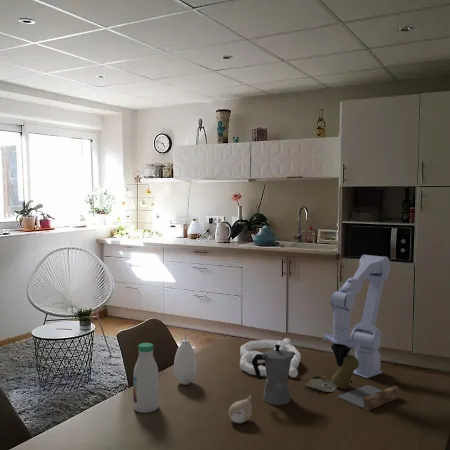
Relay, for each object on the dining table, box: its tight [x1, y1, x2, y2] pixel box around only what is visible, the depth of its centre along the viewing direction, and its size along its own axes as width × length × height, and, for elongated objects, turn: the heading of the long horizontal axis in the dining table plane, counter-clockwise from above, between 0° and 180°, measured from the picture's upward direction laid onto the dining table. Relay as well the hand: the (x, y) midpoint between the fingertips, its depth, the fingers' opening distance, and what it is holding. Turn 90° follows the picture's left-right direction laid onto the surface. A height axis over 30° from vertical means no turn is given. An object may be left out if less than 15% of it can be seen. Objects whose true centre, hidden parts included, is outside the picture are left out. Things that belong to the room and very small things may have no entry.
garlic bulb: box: [227, 394, 253, 424], centre depth 139 cm, size 7×6×8 cm
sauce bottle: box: [173, 333, 198, 386], centre depth 167 cm, size 8×8×18 cm
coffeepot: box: [252, 345, 296, 406], centre depth 154 cm, size 15×9×18 cm, turn 110°
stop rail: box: [363, 385, 400, 412], centre depth 152 cm, size 16×2×4 cm, turn 127°
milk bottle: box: [132, 342, 160, 414], centre depth 147 cm, size 8×8×20 cm
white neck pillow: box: [239, 337, 302, 379], centre depth 186 cm, size 28×24×6 cm
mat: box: [337, 384, 382, 409], centre depth 157 cm, size 16×10×1 cm, turn 127°
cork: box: [331, 354, 359, 390], centre depth 163 cm, size 6×6×11 cm
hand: (340, 365), depth 165 cm, fingers closed
